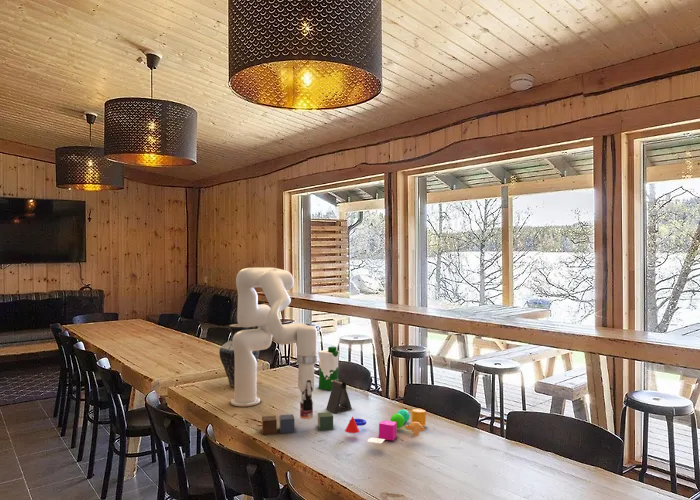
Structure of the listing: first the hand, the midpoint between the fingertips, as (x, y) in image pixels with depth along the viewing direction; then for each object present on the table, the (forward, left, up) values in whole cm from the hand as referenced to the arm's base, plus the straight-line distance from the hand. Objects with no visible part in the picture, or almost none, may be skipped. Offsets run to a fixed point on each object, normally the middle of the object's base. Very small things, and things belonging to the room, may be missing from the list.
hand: (306, 407), depth 188 cm
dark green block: (0, +7, -8) cm, 11 cm away
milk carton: (-54, +19, -8) cm, 58 cm away
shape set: (+12, +28, -8) cm, 31 cm away
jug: (-68, -23, -8) cm, 72 cm away
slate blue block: (0, -7, -8) cm, 11 cm away
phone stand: (-20, +17, -8) cm, 27 cm away
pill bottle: (0, 0, -4) cm, 4 cm away
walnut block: (0, -14, -8) cm, 16 cm away
